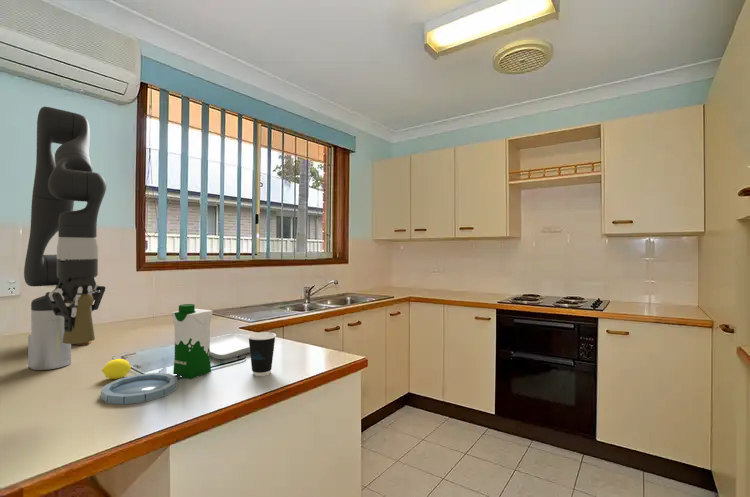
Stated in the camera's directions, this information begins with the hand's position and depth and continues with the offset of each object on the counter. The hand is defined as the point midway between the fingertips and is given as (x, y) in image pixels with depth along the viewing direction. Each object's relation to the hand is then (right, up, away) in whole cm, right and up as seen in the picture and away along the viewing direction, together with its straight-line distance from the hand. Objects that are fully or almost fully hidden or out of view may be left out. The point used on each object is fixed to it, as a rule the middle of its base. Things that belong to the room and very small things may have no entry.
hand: (77, 331), depth 90 cm
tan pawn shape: (0, -2, 0) cm, 2 cm away
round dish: (+10, -17, +8) cm, 21 cm away
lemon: (-2, -17, +17) cm, 24 cm away
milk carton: (+17, -17, +21) cm, 32 cm away
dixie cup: (+36, -17, +22) cm, 46 cm away
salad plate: (+18, -17, +45) cm, 51 cm away
